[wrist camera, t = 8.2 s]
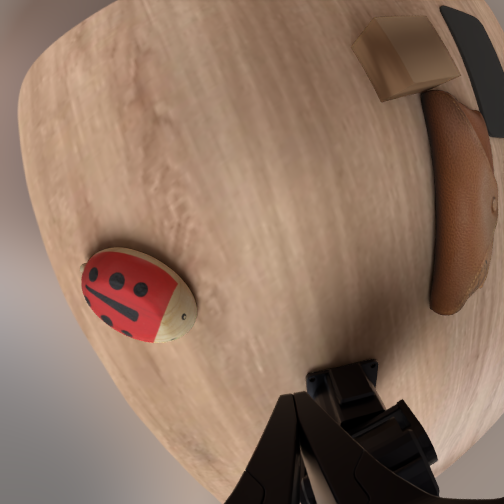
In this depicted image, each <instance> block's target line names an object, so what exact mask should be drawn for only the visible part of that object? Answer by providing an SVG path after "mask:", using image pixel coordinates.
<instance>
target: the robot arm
mask: <svg viewBox="0 0 504 504" xmlns="http://www.w3.org/2000/svg"><path fill="white" fill-rule="evenodd" d="M372 364H373V365H372ZM371 365H372V366H371ZM377 371H378V362H377V361H376V359H370V360H366V361H362V362H359V363H355V364H350V365H346V366H342V367H337V368H333V369H328V370H323V371H318V372H313V373H309V374H308V375H307V376H306V388H307V392H305V391H302V392H297V393H294V394H284V395H280V397H279V399H278V401H277V403H276V406H275V408H274V410H273V412H272V415H271V417H270V419H269V421H268V423H267V426H266V428H265V430H264V432H263V434H262V436H261V438H260V441H259V443H258V445H257V447H256V449H255V451H254V453H253V455H252V457H251V459H250V461H249V463H248V465H247V467H246V469H245V470H246V471H244V472H243V474H242V476H241V478H240V480H239V482H238V483H237V485H236V487H235V489H234V490H233V492H232V493H231V495H230V496H229V497H228V499H227V500H226V502H225V503H224V504H300V503H301V504H504V497H502V498H497V499H452V498H442V497H439V487H438V485H437V482H436V480H435V477H434V475H433V473H432V471H431V468H430V465H432V464H434V463H435V462H437V461H438V459H437V455H436V452H435V450H434V447H433V445H432V443H431V441H430V439H429V437H428V435H427V433H426V432H425V430H424V428H423V427H422V425H421V424H420V422H419V421H418V420H417V418H416V417H415V415H414V414H413V413H412V411H411V410H410V408H409V407H408V406H407V404H406V403H405V402H404V400H403V399H402V400H400V401H399V402H397V404H396V405H394V406H392V407H391V408H389V409H387V410H386V408H385V406H384V404H383V402H382V400H381V398H380V396H379V395H378V393H377V391H376V389H375V387H376V379H377ZM311 378H313V379H311ZM300 448H301V450H300Z"/></svg>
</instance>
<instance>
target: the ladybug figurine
mask: <svg viewBox="0 0 504 504" xmlns="http://www.w3.org/2000/svg"><path fill="white" fill-rule="evenodd" d="M80 271H81V273H82V291H83V294H84V297H85V299H86V301H87V303H88V305H89V306H90V307H91V309H92V310H93V311H94V312H95V314H96V315H97V316H98V317H99V318H100V319H101V320H103V321H104V322H105V323H106V324H108V325H109V326H110V327H112V328H113V329H115V330H117V331H118V332H120V333H122V334H124V335H126V336H129V337H131V338H134V339H137V340H141V341H145V342H152V343H165V342H170V341H174V340H176V339H178V338H180V337H182V336H184V335H185V334H186V333H188V332H189V331H190V329H191V328H192V327H193V325H194V323H195V321H196V316H197V307H196V302H195V299H194V297H193V295H192V293H191V291H190V289H189V288H188V286H187V285H186V284H185V282H184V281H183V280H182V279H181V278H180V277H179V276H178V275H177V274H176V273H175V272H174V271H173V270H172V269H170V268H169V267H168V266H166V265H165V264H163V263H162V262H160V261H159V260H157V259H155V258H153V257H151V256H149V255H147V254H145V253H142V252H139V251H136V250H133V249H128V248H121V247H115V248H107V249H104V250H101V251H99V252H97V253H96V254H94V255H93V256H92V257H91V258H90V259H89V261H88V263H84V264H82V265H81V267H80Z"/></svg>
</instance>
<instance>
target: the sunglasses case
mask: <svg viewBox="0 0 504 504" xmlns="http://www.w3.org/2000/svg"><path fill="white" fill-rule="evenodd" d="M421 101H422V106H423V111H424V115H425V121H426V125H427V129H428V134H429V140H430V145H431V152H432V160H433V167H434V174H435V194H436V245H435V263H434V274H433V282H432V292H431V298H430V309H431V310H433V311H434V312H436V313H438V314H440V315H452V314H455V313H457V312H458V311H459V310H461V308H462V307H463V306H464V304H465V302H466V301H467V299H468V298H469V297H470V296H471V295H472V294H473V293H474V292H475V291H476V290H477V289H478V288H481V287H482V286H483V283H484V281H485V280H486V277H487V274H488V269H489V264H490V260H491V253H492V246H493V236H494V230H495V228H496V224H497V218H498V189H497V183H496V180H495V177H494V168H493V160H492V152H491V145H490V141H489V136H488V131H487V127H486V123H485V121H484V118H483V116H482V114H481V113H480V112H479V111H477V110H470V109H469V108H467V107H466V106H464V105H463V104H461V103H460V102H458V101H457V99H456V98H454V97H453V96H452V95H451V94H449V93H448V92H445V91H441V90H430V91H425V92H423V93H421Z"/></svg>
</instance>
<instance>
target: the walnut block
mask: <svg viewBox="0 0 504 504" xmlns="http://www.w3.org/2000/svg"><path fill="white" fill-rule="evenodd" d="M351 48H352V50H353V51H354V53H355V54H356V56H357V58H358V59H359V61H360V63H361V65H362V66H363V68H364V70H365V72H366V74H367V75H368V77H369V79H370V81H371V83H372V85H373V87H374V89H375V91H376V93H377V95H378V97H379V99H380V101H381V102H384V101H388V100H392V99H395V98H399V97H403V96H407V95H412V94H416V93H420V92H425V91H427V90H430V89H432V88H434V87H436V86H438V85H441V84H443V83H445V82H447V81H450V80H452V79H454V78H457V77H459V76H461V75H460V73H459V71H458V69H457V67H456V65H455V63H454V61H453V59H452V57H451V55H450V54H449V52H448V50H447V48H446V46H445V45H444V43H443V41H442V40H441V38H440V36H439V35H438V33H437V32H436V30H435V28H434V27H433V25H432V24H431V22H430V21H429V19H428V18H427V17H426V16H386V17H374V18H373V20H372V21H371V22H370V23H369V25H368V26H367V27H366V29H365V30H364V31H363V32H362V34H361V35H360V36H359V38H358V39H357V40H356V41H355V43H354V44H353V45H352V47H351Z"/></svg>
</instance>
